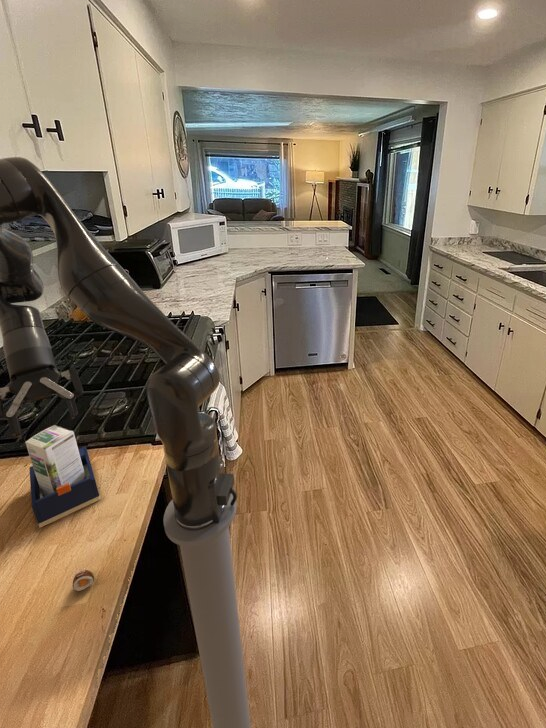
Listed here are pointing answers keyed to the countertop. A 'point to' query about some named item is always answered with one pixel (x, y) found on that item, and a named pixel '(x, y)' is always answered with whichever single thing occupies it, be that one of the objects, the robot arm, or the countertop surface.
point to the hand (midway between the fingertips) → (47, 426)
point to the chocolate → (82, 580)
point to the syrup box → (55, 459)
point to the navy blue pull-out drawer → (64, 495)
